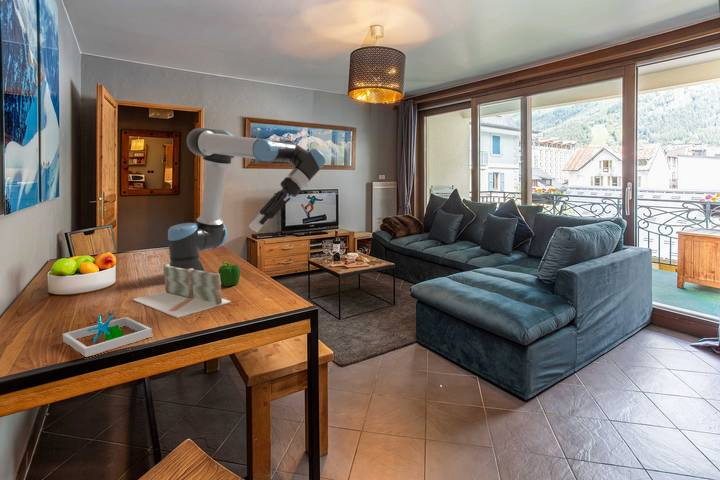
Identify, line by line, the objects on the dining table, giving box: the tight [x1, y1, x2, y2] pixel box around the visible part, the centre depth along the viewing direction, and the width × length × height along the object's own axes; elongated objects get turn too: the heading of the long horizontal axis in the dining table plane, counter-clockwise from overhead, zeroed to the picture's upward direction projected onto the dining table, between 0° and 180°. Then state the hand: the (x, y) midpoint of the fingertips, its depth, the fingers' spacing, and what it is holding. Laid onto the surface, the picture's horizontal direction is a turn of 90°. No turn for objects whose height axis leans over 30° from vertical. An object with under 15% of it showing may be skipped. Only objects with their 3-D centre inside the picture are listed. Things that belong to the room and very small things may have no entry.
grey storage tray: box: [62, 316, 153, 357], centre depth 103 cm, size 16×16×2 cm
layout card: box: [132, 290, 231, 319], centre depth 136 cm, size 31×19×1 cm, turn 53°
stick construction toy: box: [87, 313, 125, 344], centre depth 104 cm, size 12×7×8 cm
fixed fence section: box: [163, 263, 194, 298], centre depth 142 cm, size 17×2×10 cm, turn 58°
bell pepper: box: [218, 261, 241, 287], centre depth 156 cm, size 8×8×10 cm
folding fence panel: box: [191, 270, 223, 304], centre depth 133 cm, size 14×2×10 cm, turn 58°
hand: (252, 229), depth 141 cm, fingers open, 4 cm apart
